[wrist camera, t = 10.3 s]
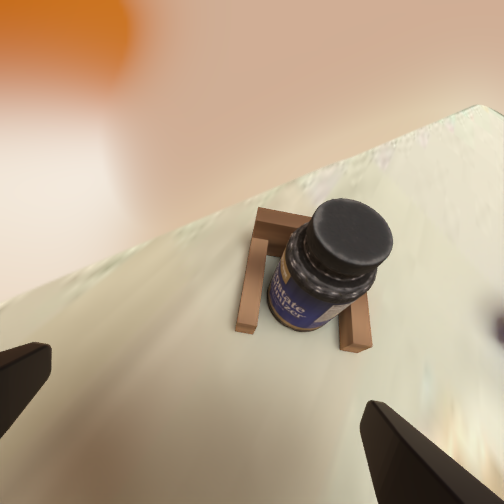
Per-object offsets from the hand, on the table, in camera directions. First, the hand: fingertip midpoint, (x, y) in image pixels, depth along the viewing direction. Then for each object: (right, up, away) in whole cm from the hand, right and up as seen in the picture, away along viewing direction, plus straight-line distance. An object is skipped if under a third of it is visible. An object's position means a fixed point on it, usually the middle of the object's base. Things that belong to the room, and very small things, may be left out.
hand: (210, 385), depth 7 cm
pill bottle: (+5, -1, +17) cm, 18 cm away
